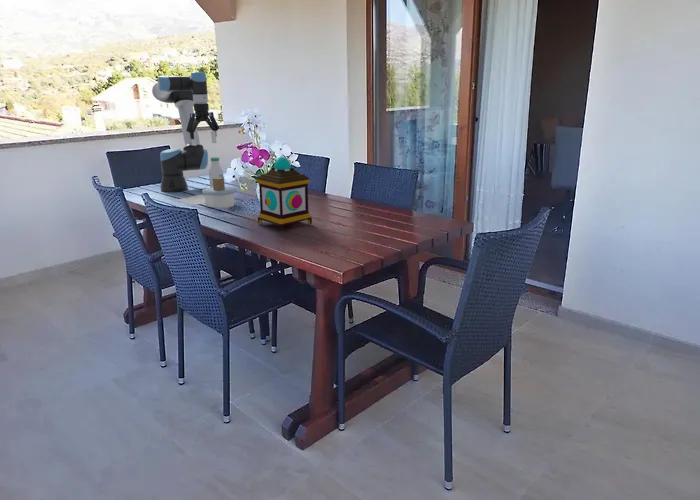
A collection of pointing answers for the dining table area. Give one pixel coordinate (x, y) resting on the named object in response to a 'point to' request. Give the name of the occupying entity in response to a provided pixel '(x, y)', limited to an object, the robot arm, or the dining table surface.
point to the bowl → (220, 200)
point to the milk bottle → (215, 170)
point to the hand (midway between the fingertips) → (204, 144)
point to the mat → (193, 199)
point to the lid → (218, 188)
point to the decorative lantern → (283, 195)
